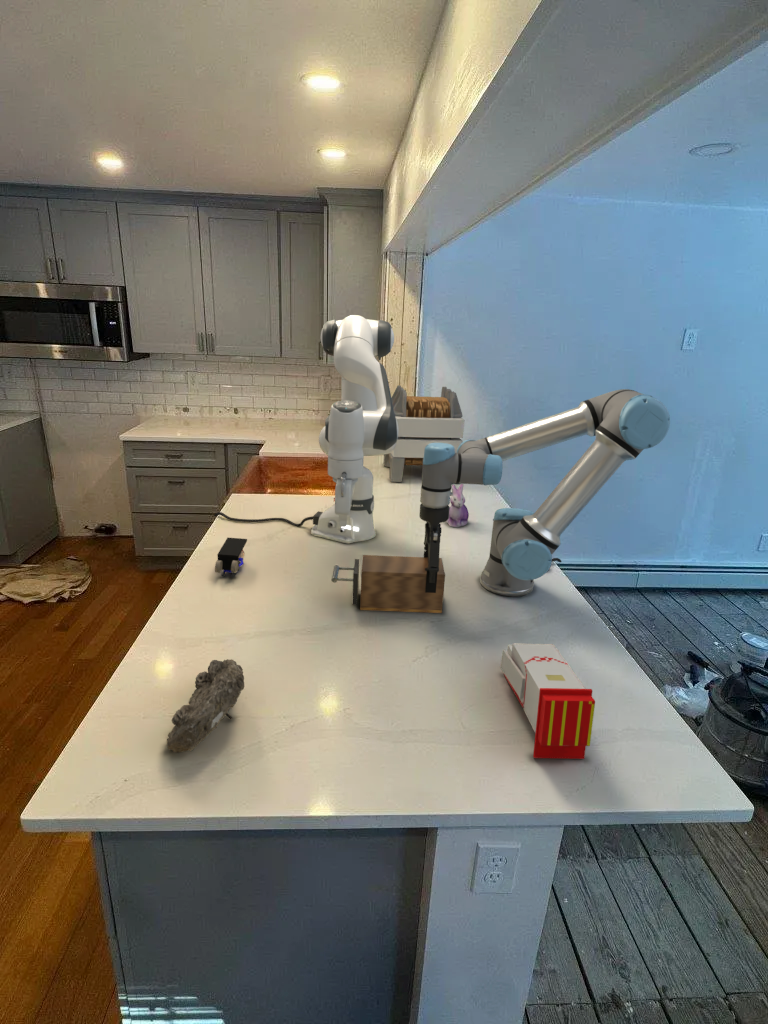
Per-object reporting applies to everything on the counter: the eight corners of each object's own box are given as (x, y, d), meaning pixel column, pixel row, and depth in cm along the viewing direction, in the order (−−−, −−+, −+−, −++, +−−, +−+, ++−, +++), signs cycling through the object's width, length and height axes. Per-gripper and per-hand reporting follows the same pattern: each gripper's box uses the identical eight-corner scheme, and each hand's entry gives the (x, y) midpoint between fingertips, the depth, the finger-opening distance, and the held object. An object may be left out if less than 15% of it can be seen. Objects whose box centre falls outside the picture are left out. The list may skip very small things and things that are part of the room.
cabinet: (360, 609, 149) (361, 571, 145) (361, 591, 158) (362, 554, 155) (441, 613, 149) (445, 574, 145) (438, 594, 159) (441, 557, 155)
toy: (549, 626, 126) (605, 697, 97) (544, 681, 129) (596, 766, 100) (495, 625, 126) (534, 696, 96) (491, 680, 128) (528, 765, 99)
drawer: (330, 604, 149) (331, 572, 146) (333, 587, 157) (334, 558, 154) (428, 607, 149) (431, 576, 146) (426, 591, 158) (428, 561, 155)
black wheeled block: (238, 584, 162) (249, 557, 175) (236, 562, 158) (247, 536, 172) (215, 584, 161) (227, 556, 175) (212, 561, 158) (225, 535, 171)
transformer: (382, 463, 289) (386, 382, 275) (445, 464, 293) (451, 384, 279) (390, 482, 257) (394, 392, 243) (460, 483, 261) (468, 394, 247)
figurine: (454, 529, 206) (457, 490, 201) (439, 520, 214) (442, 482, 209) (475, 526, 210) (479, 487, 205) (459, 517, 218) (463, 479, 213)
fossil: (192, 660, 117) (244, 628, 112) (224, 691, 120) (276, 661, 115) (142, 746, 98) (202, 712, 93) (182, 779, 101) (242, 748, 96)
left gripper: (356, 480, 131) (354, 535, 136) (359, 458, 150) (358, 507, 155) (328, 478, 131) (328, 534, 136) (336, 457, 150) (335, 506, 155)
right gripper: (454, 520, 133) (447, 603, 141) (445, 491, 155) (439, 564, 162) (423, 519, 133) (417, 602, 141) (417, 489, 155) (412, 563, 162)
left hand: (344, 519), depth 146 cm, fingers open, 8 cm apart
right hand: (428, 582), depth 152 cm, fingers closed on cabinet, 10 cm apart
